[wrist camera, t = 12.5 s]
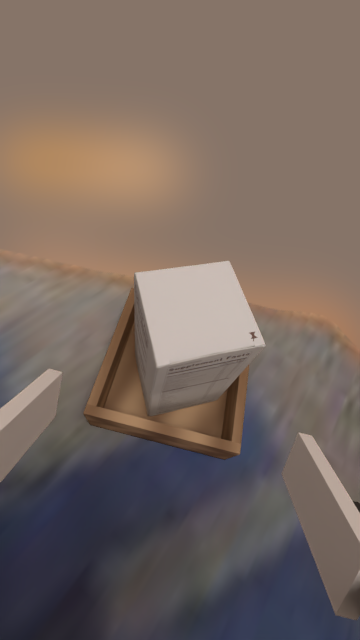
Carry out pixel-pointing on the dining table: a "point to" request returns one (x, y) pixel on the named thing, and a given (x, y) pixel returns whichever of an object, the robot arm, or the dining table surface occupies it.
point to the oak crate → (168, 428)
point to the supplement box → (191, 334)
